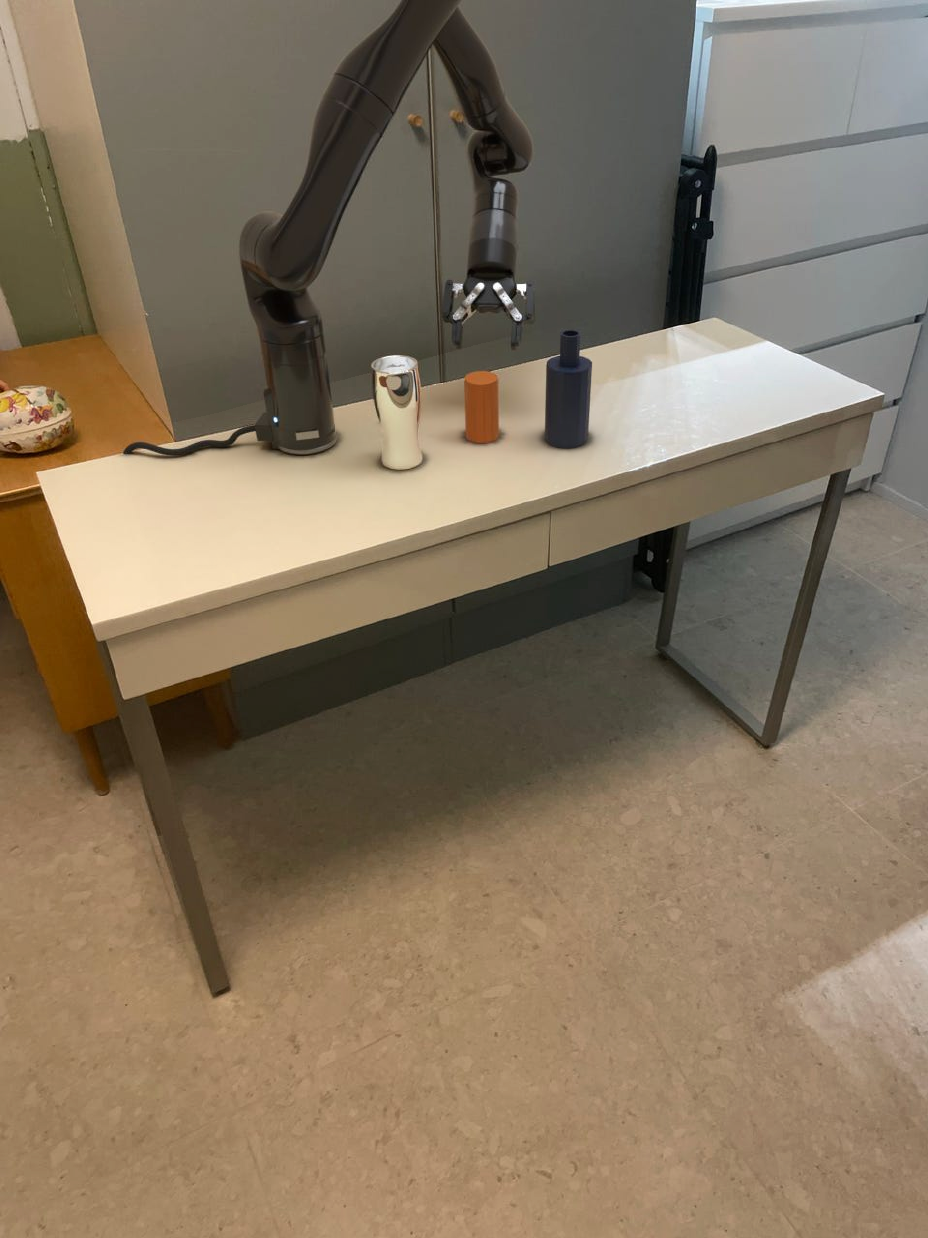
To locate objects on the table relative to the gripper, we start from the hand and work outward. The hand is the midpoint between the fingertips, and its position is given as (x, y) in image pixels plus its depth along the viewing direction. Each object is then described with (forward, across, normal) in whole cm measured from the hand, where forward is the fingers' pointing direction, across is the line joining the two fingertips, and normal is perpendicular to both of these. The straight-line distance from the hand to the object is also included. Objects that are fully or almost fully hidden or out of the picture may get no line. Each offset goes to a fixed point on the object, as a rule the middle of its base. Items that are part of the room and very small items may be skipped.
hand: (485, 347), depth 143 cm
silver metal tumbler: (+19, -11, -3) cm, 22 cm away
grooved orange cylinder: (+13, 0, +3) cm, 13 cm away
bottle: (+13, +13, +3) cm, 19 cm away
